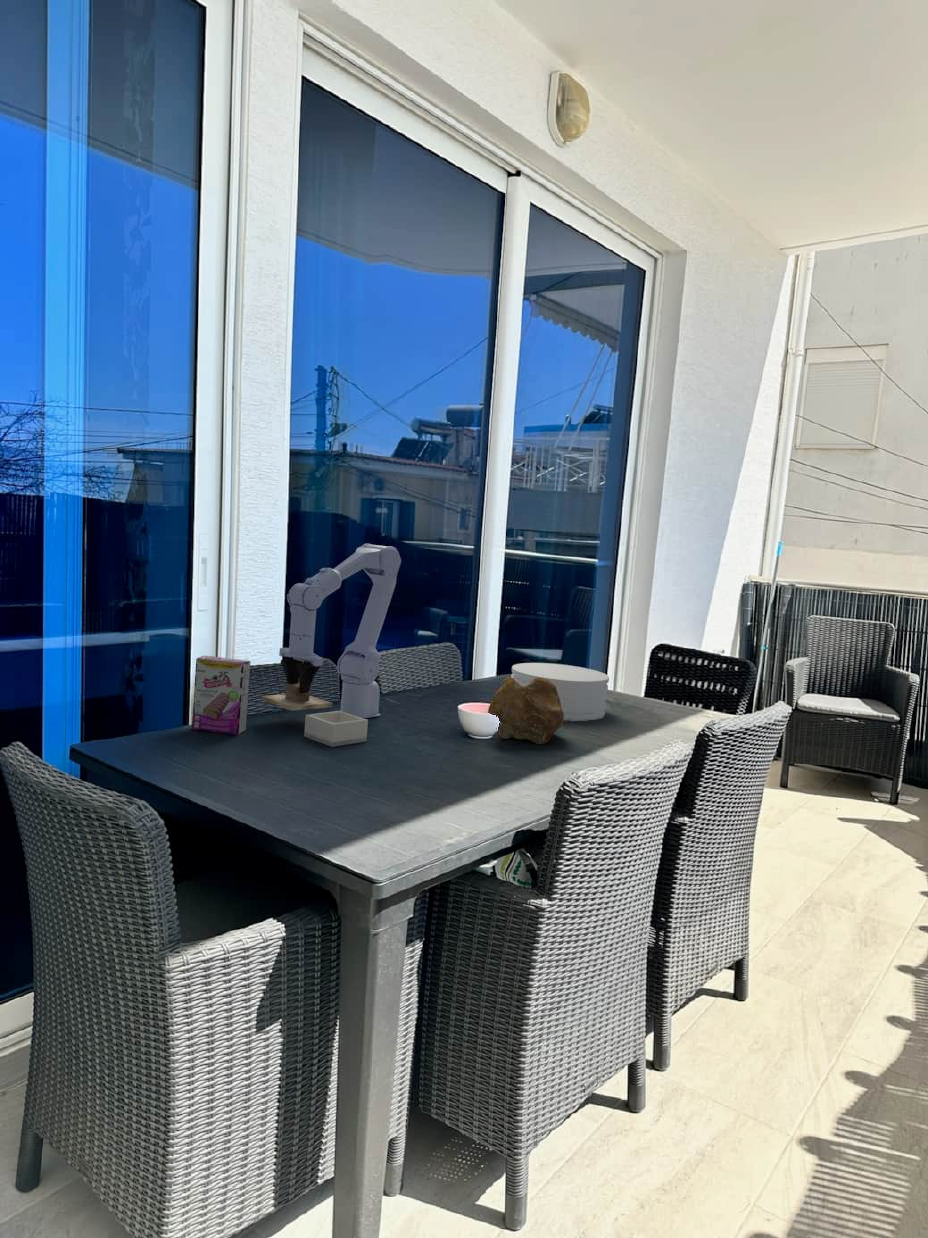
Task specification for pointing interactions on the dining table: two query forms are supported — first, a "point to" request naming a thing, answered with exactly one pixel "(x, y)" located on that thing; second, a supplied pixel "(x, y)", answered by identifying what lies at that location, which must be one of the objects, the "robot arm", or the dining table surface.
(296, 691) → the lid
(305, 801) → the dining table surface
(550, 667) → the grey short cylinder
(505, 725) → the rough brown rock
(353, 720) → the dish
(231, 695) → the candy bar box
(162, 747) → the dining table surface
